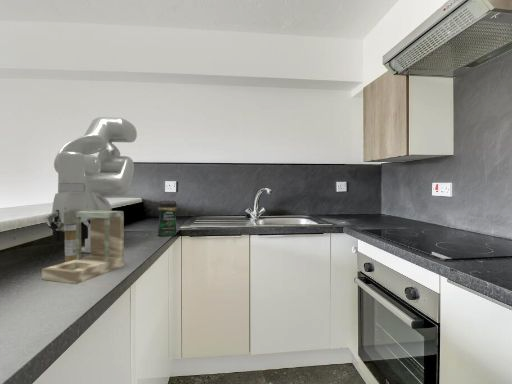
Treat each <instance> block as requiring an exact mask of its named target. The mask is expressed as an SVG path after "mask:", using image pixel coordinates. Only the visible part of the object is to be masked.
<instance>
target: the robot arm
mask: <svg viewBox="0 0 512 384" xmlns="http://www.w3.org/2000/svg"><path fill="white" fill-rule="evenodd" d="M90 123H91V124H90V125H89V126H88V128H87V130H86V132H84V135H82V136H79V137H77V138H75V139H73V140H71V141H69V142H67V143H66V144H64V145H62V147H61V148H60V150H59V151H58V152H57V155H56V156H55V158H54V162H53V168H54V170H55V172H56V173H57V177H58V178H57V193H55V194H54V198H53V202H52V210H51V213H49V214H48V215H47V216H45V217H44V220H45V223H46V224H47V227H48V228H50V231H51V232H52V243H53V244H62V243H63V230H62V229H63V228H64V225H66V224H76V212H81V211H91V210H101V211H112V206H111V204H110V201H109V200H108V199H107V198H106V197H118V196H119V197H123V196H125V195H127V194H128V193H129V190H130V186H131V184H132V179H133V177H134V173H135V163H134V161H133V159H132V158H131V157H130V156H127V155H126V156H125V155H121V151H120V150H119V149H118V147H117V146H116V145H115V144H114V143H134V142H135V141H136V139H137V137H138V132H137V128H136V127H135V126H134V124H132V122H130V121H128V120H127V119H126V118H123V117H108V116H105V117H104V116H100V117H99V116H98V117H97V118H95V119H93V120H92V122H90ZM97 153H98V154H97ZM94 154H97V156H95V155H94ZM81 240H84V246H81V253H84V254H85V253H87V254H89V253H90V254H91V241H90V217H81Z"/></svg>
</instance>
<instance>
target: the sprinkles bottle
mask: <svg viewBox="0 0 512 384" xmlns="http://www.w3.org/2000/svg"><path fill="white" fill-rule="evenodd" d="M63 231H64V263H65V262H69V261H72V260H76V223H71V224H64V226H63Z"/></svg>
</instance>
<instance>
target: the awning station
mask: <svg viewBox="0 0 512 384" xmlns="http://www.w3.org/2000/svg"><path fill="white" fill-rule="evenodd" d="M124 215H125V214H124V211H123V210H111V211H101V210H91V211H81V212H76V223H75V224H76V260H72V261H69V262H65V261H64V262H62V263H59V264H54V265H51V266H47V267H44V268H42V269H41V280H42V281H51V282H58V283H67V284H75V285H76V284H79V283H82V282H84V281H88V280H91V279H93V278H95V277H98V276H100V275H103V274H106V273H109V272H112V271H114V270H116V269H119V268H123V267H124V266H125V265H124V264H125V259H124V258H125V254H124V253H125V248H124V247H125V246H124V245H125V244H124V243H125V242H124V239H125V238H124V237H125V234H124V233H125V232H124V229H125V228H124V224H125V223H124V222H125V221H124V220H125V219H124V218H125V216H124ZM81 217H90V241H91V253H90V255H88V256H87V255H86V256H84V257H82V252H81V248H82V239H81Z"/></svg>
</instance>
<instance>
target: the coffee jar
mask: <svg viewBox="0 0 512 384" xmlns="http://www.w3.org/2000/svg"><path fill="white" fill-rule="evenodd" d="M177 207H178V206H177V202H176V200H160V201H159V202H158V207H157V210H158V213H159V218H158V219H159V220H158V227H157V228H158V229H157V235H158V236H159V235H160V237H172V236H173V237H174V236H176V235H177V233H178V230H177V221H176V220H177V217H176V215H177V214H176V213H177V210H178V208H177Z"/></svg>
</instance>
